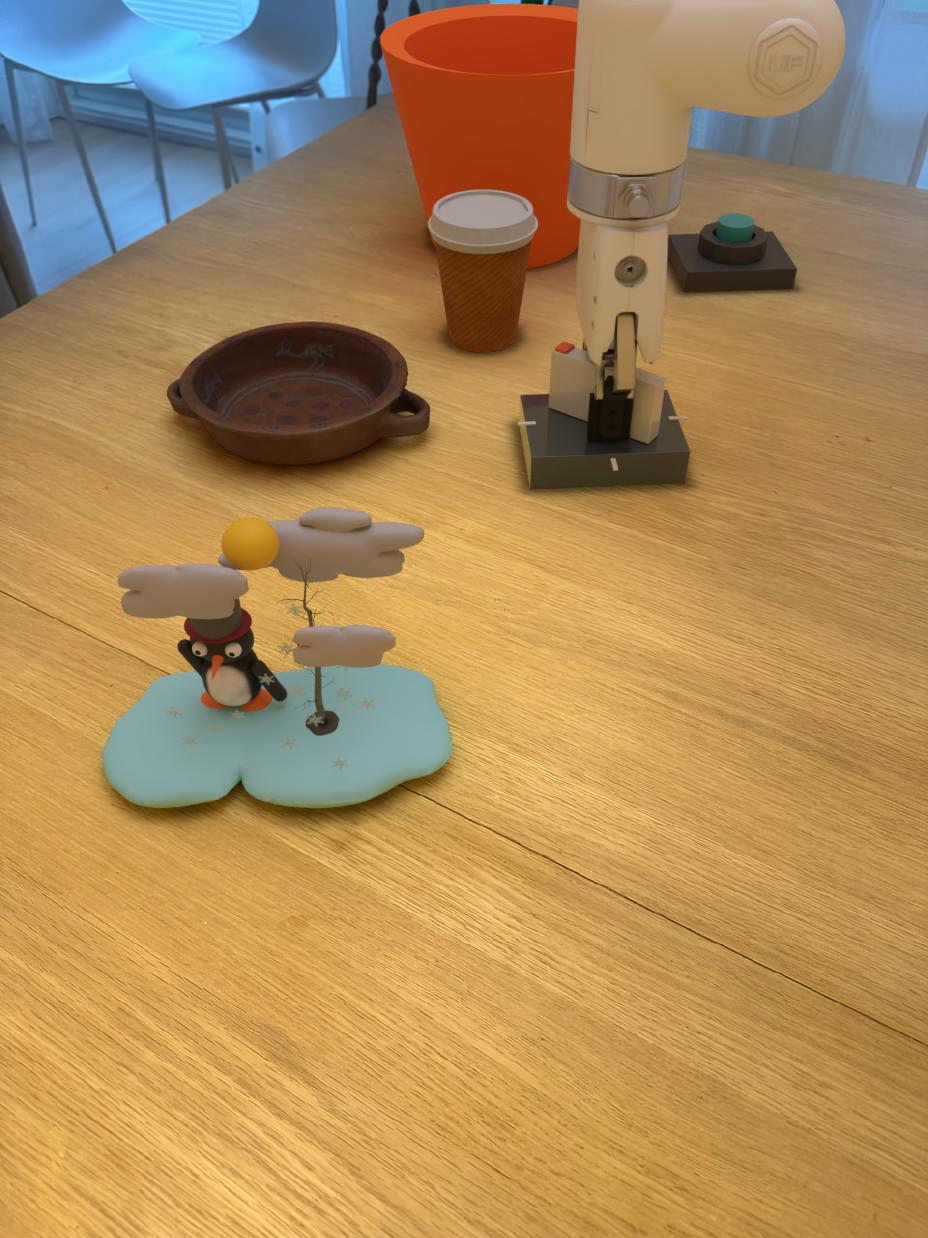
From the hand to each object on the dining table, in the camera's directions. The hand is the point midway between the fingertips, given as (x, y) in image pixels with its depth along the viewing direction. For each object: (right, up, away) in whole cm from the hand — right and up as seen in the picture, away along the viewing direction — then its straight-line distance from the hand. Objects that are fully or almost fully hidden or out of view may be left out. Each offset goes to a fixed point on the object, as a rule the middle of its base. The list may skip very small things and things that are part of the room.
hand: (602, 419), depth 82 cm
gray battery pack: (0, 0, 0) cm, 0 cm away
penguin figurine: (-21, -23, -20) cm, 37 cm away
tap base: (0, -2, +2) cm, 3 cm away
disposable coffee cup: (-9, +11, +17) cm, 22 cm away
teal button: (+16, +23, +24) cm, 37 cm away
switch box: (+16, +20, +26) cm, 37 cm away
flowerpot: (-6, +26, +33) cm, 42 cm away
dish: (-24, +1, +6) cm, 25 cm away
